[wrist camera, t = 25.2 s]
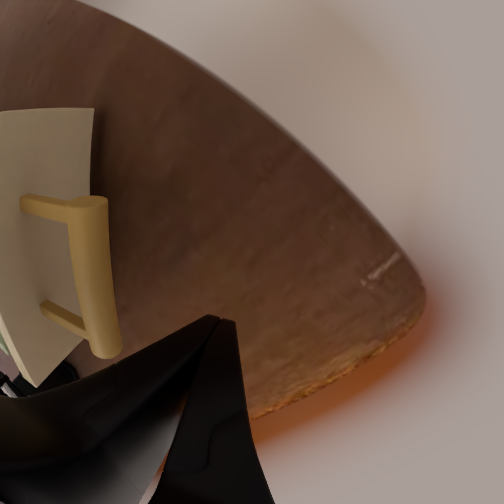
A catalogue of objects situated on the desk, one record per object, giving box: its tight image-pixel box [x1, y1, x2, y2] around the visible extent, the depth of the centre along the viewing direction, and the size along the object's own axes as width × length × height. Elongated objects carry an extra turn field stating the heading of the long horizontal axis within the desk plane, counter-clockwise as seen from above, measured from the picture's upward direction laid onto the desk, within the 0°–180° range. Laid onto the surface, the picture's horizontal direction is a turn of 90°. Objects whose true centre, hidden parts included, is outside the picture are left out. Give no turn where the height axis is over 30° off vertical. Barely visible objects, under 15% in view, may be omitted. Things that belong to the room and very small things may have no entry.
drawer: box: [0, 108, 123, 388], centre depth 10 cm, size 17×12×7 cm
